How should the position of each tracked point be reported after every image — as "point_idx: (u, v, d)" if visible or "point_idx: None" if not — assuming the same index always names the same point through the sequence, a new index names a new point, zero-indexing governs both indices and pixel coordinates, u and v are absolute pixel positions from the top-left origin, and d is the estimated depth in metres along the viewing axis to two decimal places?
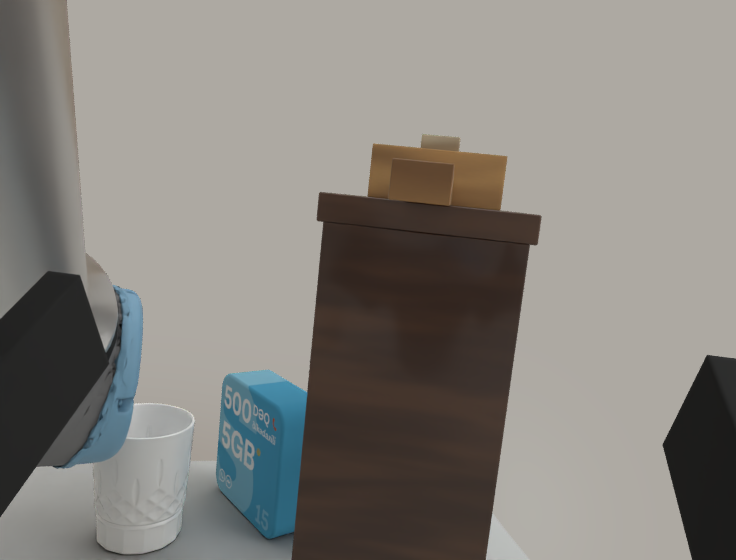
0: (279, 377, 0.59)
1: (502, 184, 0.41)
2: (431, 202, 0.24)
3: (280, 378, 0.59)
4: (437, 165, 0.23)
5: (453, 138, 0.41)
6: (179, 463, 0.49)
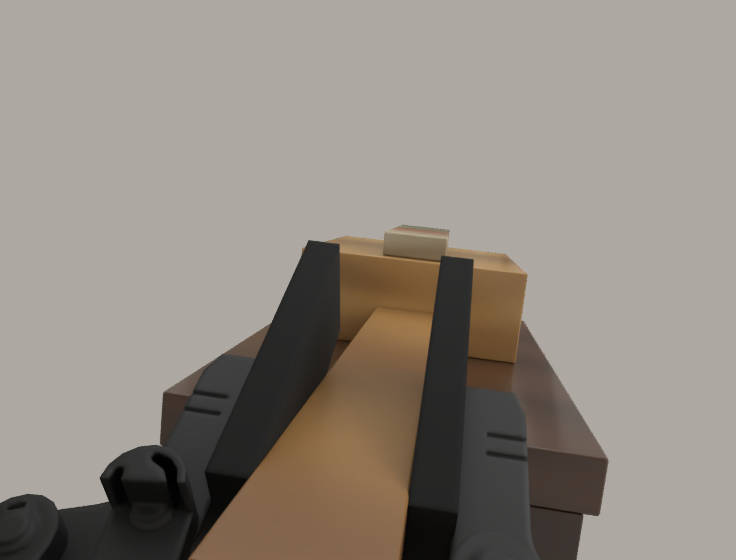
0: None
1: (519, 320, 0.24)
2: None
3: None
4: None
5: (436, 239, 0.25)
6: None
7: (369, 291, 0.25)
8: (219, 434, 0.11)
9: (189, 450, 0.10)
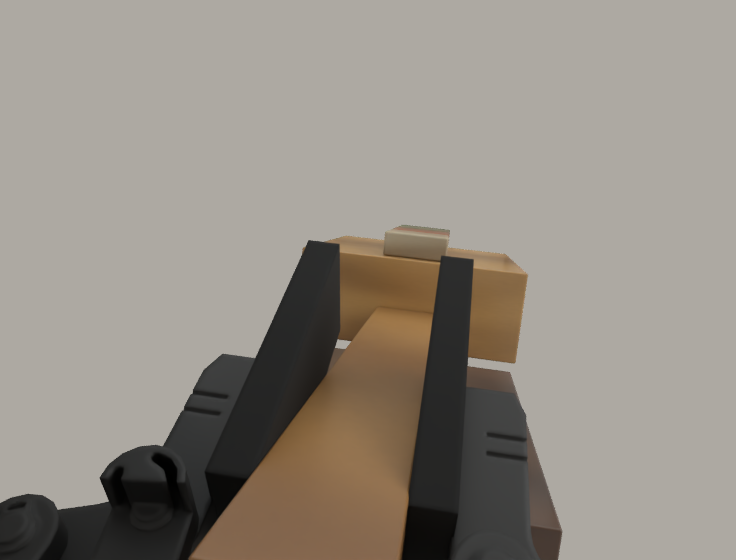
0: None
1: (519, 320, 0.24)
2: None
3: None
4: None
5: (437, 239, 0.25)
6: None
7: (369, 291, 0.25)
8: (219, 434, 0.11)
9: (189, 450, 0.10)
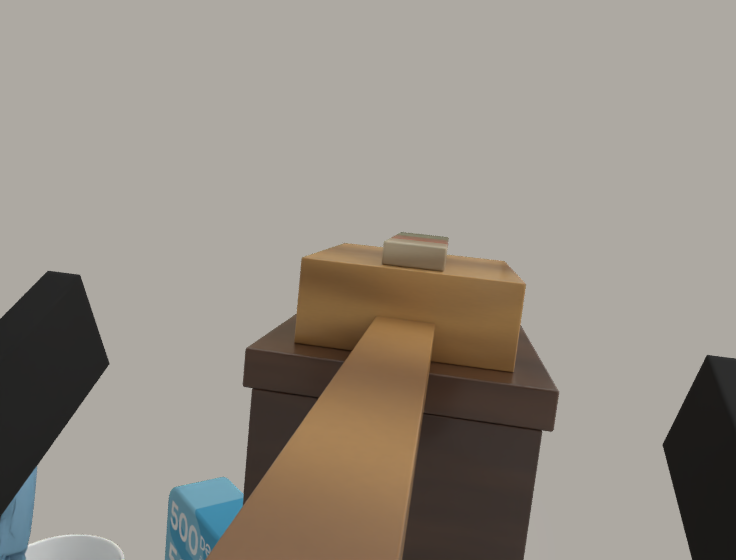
0: (236, 491, 0.49)
1: (517, 329, 0.24)
2: None
3: (237, 493, 0.49)
4: None
5: (435, 249, 0.25)
6: None
7: (368, 301, 0.25)
8: None
9: None
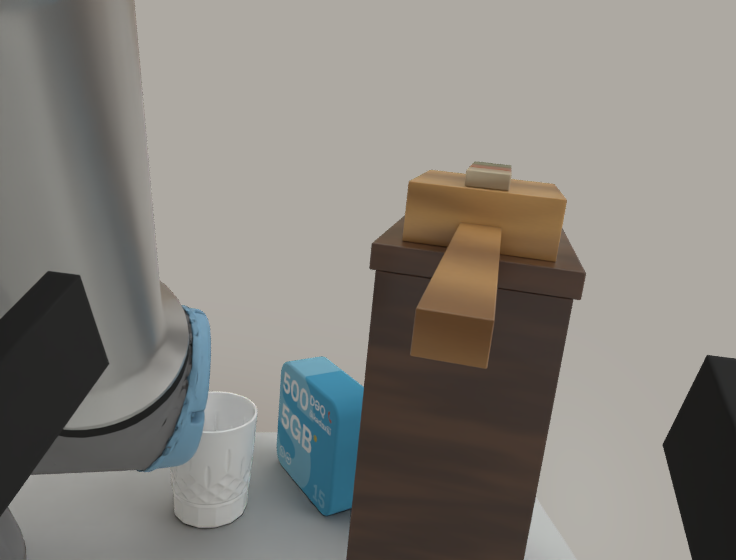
0: (333, 366, 0.63)
1: (559, 232, 0.35)
2: (464, 363, 0.19)
3: (334, 367, 0.62)
4: (472, 320, 0.19)
5: (503, 175, 0.35)
6: (244, 451, 0.55)
7: (455, 211, 0.36)
8: None
9: None
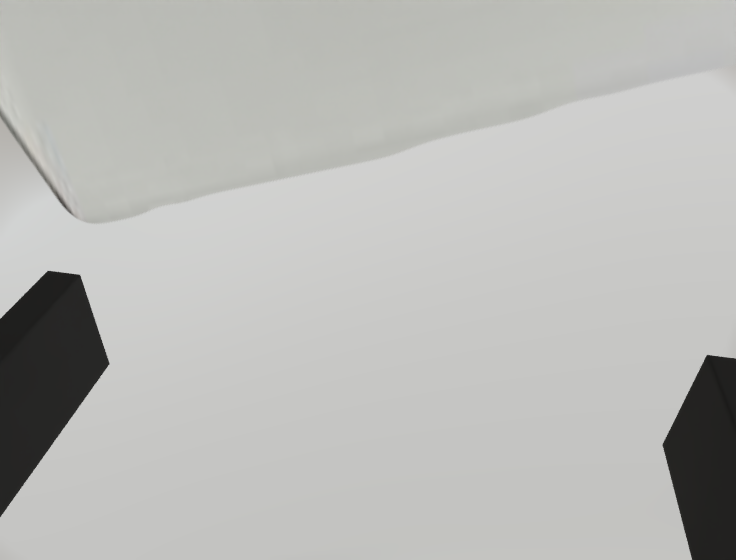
0: None
1: None
2: None
3: None
4: None
5: None
6: None
7: None
8: None
9: None
